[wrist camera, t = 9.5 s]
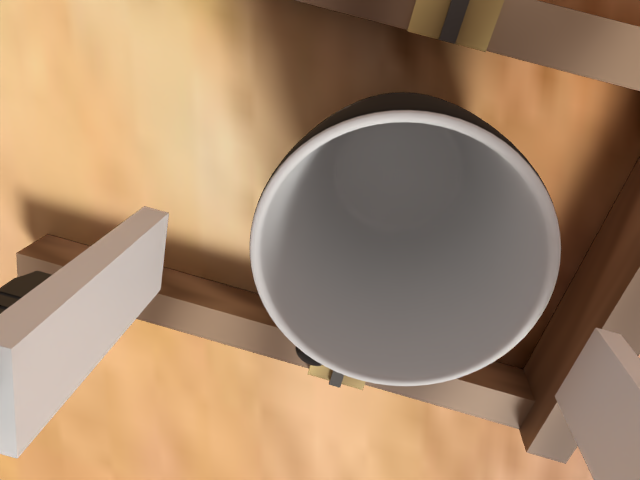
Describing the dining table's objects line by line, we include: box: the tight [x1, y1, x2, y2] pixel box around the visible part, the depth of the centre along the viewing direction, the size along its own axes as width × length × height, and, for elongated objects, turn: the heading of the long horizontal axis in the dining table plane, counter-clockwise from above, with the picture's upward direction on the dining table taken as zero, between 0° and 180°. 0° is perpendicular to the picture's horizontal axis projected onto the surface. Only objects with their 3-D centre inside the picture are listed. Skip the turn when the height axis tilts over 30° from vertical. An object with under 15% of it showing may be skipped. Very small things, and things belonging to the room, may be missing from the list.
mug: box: [250, 92, 561, 386], centre depth 19 cm, size 12×9×10 cm
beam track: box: [16, 0, 640, 464], centre depth 22 cm, size 30×19×4 cm, turn 77°
